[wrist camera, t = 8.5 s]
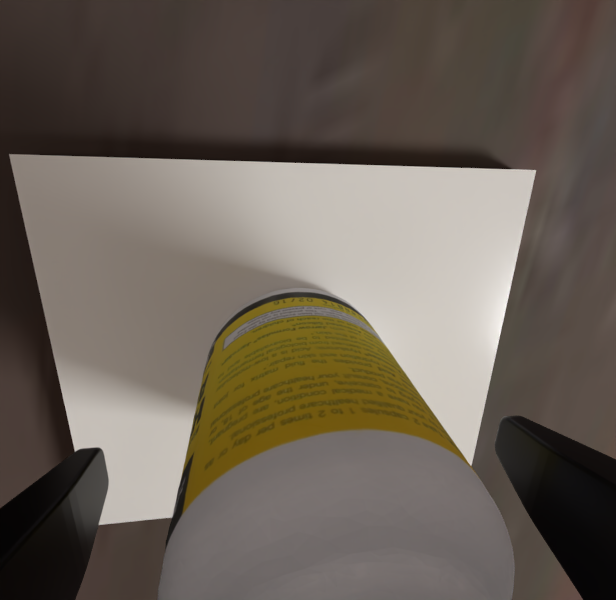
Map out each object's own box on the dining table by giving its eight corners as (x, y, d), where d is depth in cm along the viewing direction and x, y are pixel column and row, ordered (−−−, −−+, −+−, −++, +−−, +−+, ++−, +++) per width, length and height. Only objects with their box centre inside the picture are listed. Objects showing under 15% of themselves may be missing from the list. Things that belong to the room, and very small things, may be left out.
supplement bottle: (180, 312, 11) (-145, 1029, 2) (358, 262, 11) (816, 683, 2) (237, 452, 13) (208, 1135, 4) (387, 407, 13) (690, 945, 4)
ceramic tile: (101, 501, 14) (91, 525, 13) (31, 155, 10) (8, 154, 9) (454, 468, 16) (466, 486, 15) (513, 169, 12) (536, 170, 11)
